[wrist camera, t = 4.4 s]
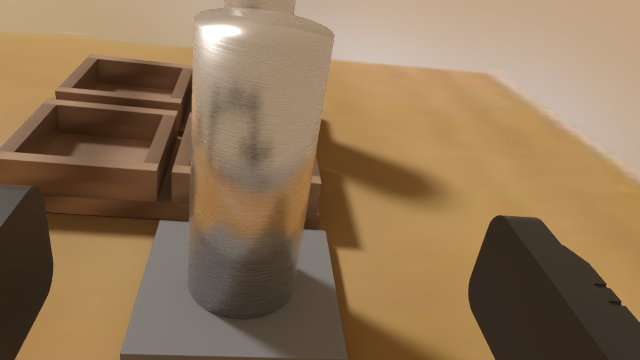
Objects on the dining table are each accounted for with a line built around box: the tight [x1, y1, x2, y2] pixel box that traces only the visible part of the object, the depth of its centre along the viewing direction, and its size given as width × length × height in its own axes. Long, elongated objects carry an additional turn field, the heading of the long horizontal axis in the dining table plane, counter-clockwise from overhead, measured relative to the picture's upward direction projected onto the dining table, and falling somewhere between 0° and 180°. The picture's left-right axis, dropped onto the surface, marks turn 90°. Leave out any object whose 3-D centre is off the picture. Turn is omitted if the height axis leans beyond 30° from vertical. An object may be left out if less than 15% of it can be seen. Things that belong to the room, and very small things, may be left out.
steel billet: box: [187, 8, 334, 320], centre depth 21 cm, size 5×5×12 cm
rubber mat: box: [120, 220, 348, 360], centre depth 25 cm, size 9×9×1 cm
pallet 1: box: [55, 55, 193, 137], centre depth 40 cm, size 18×9×3 cm, turn 96°
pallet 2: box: [0, 99, 322, 229], centre depth 32 cm, size 18×9×3 cm, turn 96°
